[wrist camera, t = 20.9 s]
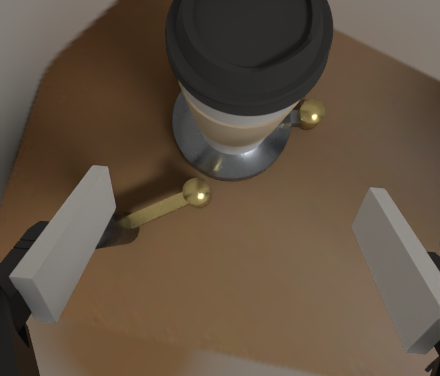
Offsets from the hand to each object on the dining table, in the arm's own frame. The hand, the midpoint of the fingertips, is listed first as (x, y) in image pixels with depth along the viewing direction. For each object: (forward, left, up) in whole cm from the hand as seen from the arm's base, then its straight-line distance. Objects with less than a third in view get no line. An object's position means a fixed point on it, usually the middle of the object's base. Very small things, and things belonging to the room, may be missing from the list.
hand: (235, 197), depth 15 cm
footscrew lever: (+6, +3, -14) cm, 16 cm away
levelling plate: (+3, -8, -14) cm, 17 cm away
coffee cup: (+3, -8, -12) cm, 15 cm away
